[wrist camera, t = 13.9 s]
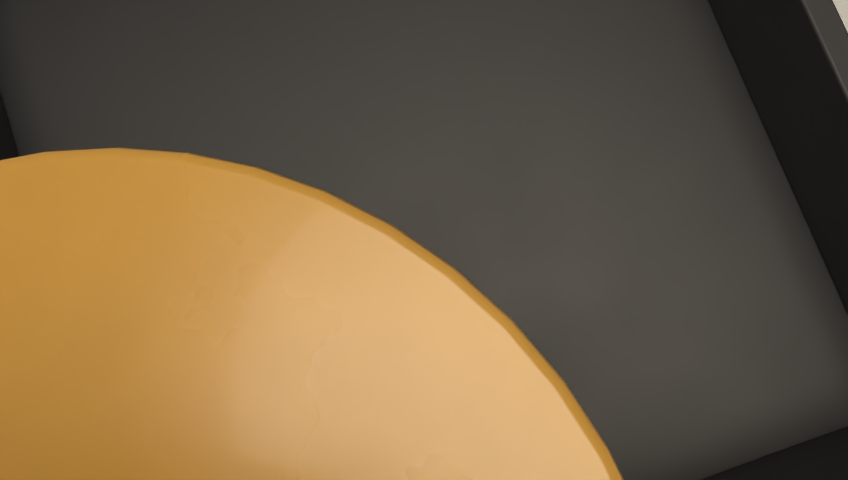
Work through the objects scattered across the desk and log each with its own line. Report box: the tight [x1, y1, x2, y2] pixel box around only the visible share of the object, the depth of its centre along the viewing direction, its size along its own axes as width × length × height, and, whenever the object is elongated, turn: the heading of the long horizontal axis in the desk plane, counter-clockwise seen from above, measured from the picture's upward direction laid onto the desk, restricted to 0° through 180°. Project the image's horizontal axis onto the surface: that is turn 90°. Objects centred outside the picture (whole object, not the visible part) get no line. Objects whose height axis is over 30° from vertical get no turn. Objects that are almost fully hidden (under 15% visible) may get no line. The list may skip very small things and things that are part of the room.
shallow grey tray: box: [0, 0, 848, 480], centre depth 19 cm, size 19×19×4 cm
